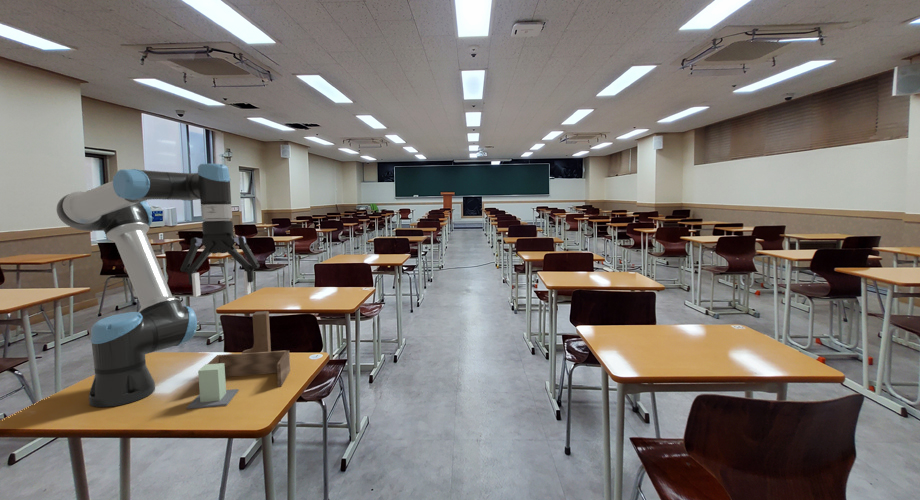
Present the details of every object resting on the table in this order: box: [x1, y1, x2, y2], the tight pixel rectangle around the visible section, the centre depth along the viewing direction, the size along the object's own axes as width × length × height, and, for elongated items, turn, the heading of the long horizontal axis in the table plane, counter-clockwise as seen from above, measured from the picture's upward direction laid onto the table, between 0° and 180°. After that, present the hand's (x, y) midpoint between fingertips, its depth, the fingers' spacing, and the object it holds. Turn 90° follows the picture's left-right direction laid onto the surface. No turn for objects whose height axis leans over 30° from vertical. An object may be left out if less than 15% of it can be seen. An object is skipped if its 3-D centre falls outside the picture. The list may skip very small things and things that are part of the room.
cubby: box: [207, 350, 291, 388], centre depth 135 cm, size 22×13×7 cm, turn 100°
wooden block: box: [241, 310, 272, 353], centre depth 150 cm, size 9×4×18 cm, turn 103°
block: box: [197, 363, 227, 402], centre depth 122 cm, size 5×5×9 cm
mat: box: [186, 388, 239, 410], centre depth 123 cm, size 10×10×1 cm
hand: (222, 295), depth 123 cm, fingers open, 13 cm apart
